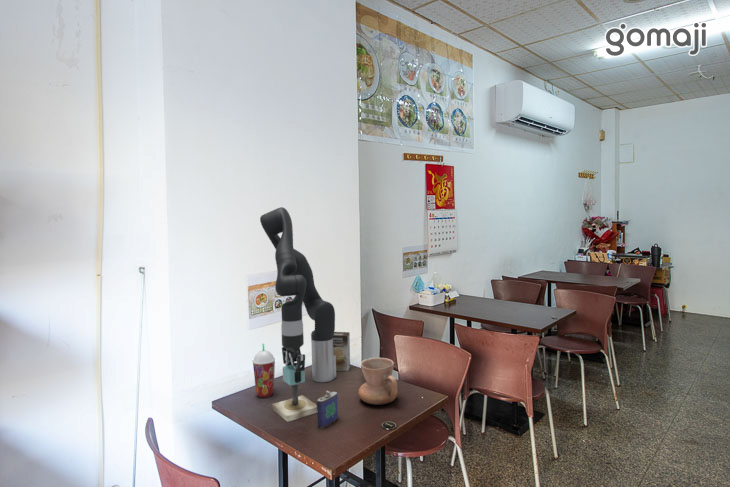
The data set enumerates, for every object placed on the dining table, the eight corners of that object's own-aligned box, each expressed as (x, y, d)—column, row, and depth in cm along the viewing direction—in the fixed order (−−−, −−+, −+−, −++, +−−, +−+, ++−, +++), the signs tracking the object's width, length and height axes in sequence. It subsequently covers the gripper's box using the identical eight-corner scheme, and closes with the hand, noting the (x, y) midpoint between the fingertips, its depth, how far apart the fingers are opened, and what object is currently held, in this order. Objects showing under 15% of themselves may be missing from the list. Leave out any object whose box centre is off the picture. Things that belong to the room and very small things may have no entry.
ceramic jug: (348, 398, 158) (347, 361, 158) (378, 388, 167) (377, 352, 166) (379, 415, 144) (378, 374, 143) (410, 403, 153) (409, 364, 152)
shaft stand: (302, 400, 158) (302, 376, 157) (318, 411, 148) (318, 386, 147) (272, 409, 151) (271, 384, 150) (287, 422, 141) (286, 395, 140)
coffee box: (327, 371, 187) (326, 335, 187) (331, 365, 194) (330, 331, 193) (348, 371, 186) (347, 335, 185) (350, 366, 193) (349, 331, 192)
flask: (334, 416, 144) (333, 385, 144) (340, 418, 143) (340, 387, 142) (315, 427, 137) (314, 395, 136) (322, 429, 135) (321, 397, 135)
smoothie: (278, 390, 167) (277, 340, 166) (272, 399, 159) (270, 347, 158) (258, 390, 168) (256, 340, 167) (250, 398, 160) (248, 347, 159)
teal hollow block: (297, 377, 152) (297, 363, 152) (304, 381, 148) (304, 367, 148) (283, 380, 149) (282, 366, 149) (290, 385, 145) (289, 371, 144)
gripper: (311, 334, 144) (313, 383, 145) (293, 326, 156) (294, 371, 157) (291, 338, 140) (293, 388, 141) (274, 329, 151) (275, 376, 152)
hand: (294, 379), depth 149 cm, fingers closed on teal hollow block, 5 cm apart
